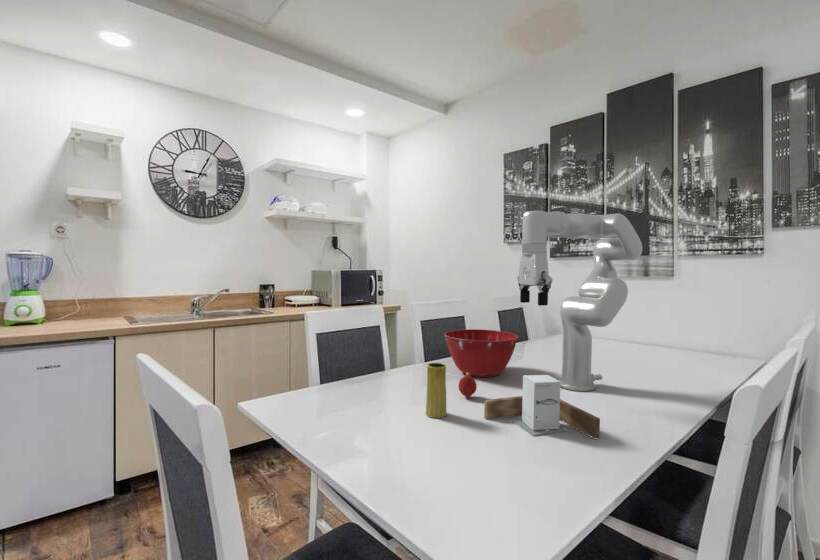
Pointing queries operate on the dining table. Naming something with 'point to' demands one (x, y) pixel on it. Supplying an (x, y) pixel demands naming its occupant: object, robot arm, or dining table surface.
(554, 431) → the pad
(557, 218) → the robot arm
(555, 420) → the supplement box
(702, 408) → the dining table surface
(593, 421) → the corner arena
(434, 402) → the vase
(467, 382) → the red oval fruit
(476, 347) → the mixing bowl
